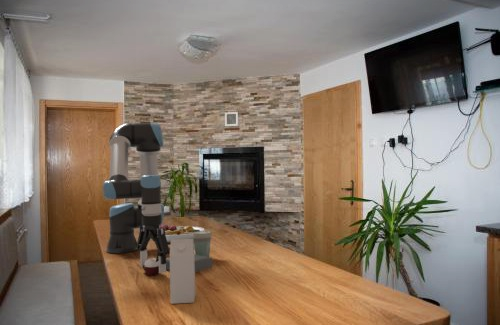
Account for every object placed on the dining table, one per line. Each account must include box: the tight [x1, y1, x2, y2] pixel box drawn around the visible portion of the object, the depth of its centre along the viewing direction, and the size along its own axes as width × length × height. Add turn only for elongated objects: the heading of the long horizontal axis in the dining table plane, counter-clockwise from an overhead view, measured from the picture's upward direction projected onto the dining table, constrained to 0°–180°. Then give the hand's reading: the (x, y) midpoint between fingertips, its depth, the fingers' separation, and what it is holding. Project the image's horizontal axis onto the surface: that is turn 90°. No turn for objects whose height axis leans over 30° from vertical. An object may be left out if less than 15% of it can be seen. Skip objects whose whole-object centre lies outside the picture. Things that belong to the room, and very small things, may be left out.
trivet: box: [166, 253, 213, 273], centre depth 159 cm, size 14×14×4 cm
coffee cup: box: [193, 230, 212, 257], centre depth 174 cm, size 8×9×12 cm
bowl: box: [159, 223, 206, 244], centre depth 223 cm, size 30×30×8 cm
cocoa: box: [142, 251, 160, 277], centre depth 151 cm, size 10×6×12 cm, turn 44°
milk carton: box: [169, 239, 196, 305], centre depth 122 cm, size 7×7×19 cm
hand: (152, 269), depth 151 cm, fingers open, 12 cm apart
